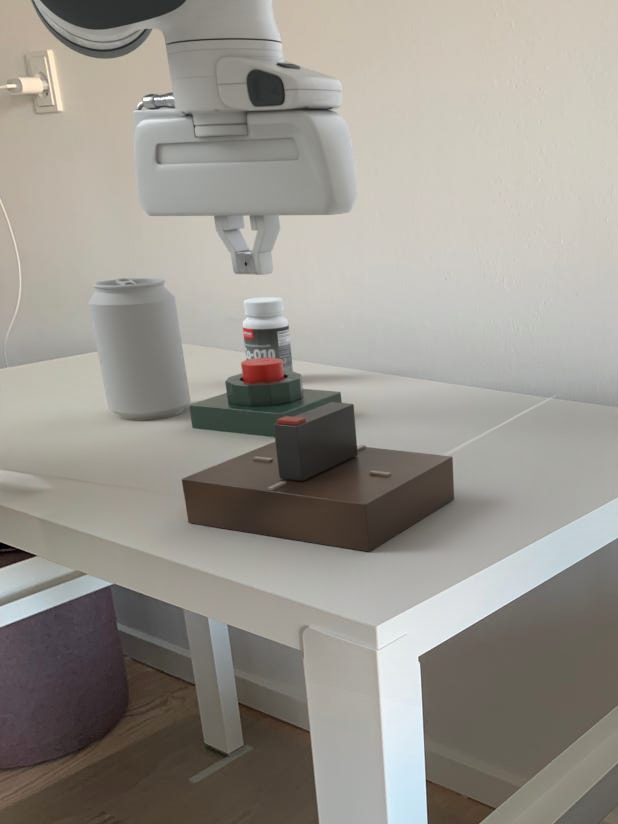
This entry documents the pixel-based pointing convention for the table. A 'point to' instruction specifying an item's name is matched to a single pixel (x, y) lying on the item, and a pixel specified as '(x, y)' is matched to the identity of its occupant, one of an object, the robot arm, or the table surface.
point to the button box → (257, 405)
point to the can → (139, 348)
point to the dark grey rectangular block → (315, 440)
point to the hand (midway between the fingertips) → (253, 273)
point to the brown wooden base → (322, 496)
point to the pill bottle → (267, 330)
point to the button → (262, 370)
